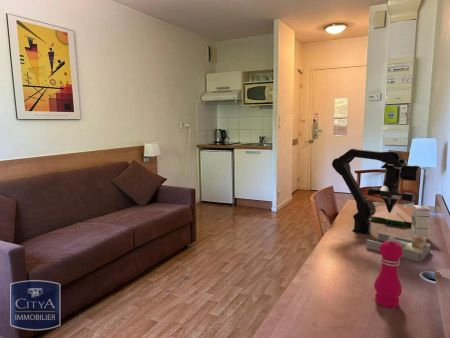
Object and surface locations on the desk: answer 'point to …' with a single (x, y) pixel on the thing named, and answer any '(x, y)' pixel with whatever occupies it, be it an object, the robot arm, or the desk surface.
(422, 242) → the wooden cube
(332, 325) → the desk surface
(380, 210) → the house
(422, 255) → the tray
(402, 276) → the desk surface
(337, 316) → the desk surface
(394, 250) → the pepper mill
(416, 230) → the syrup box
